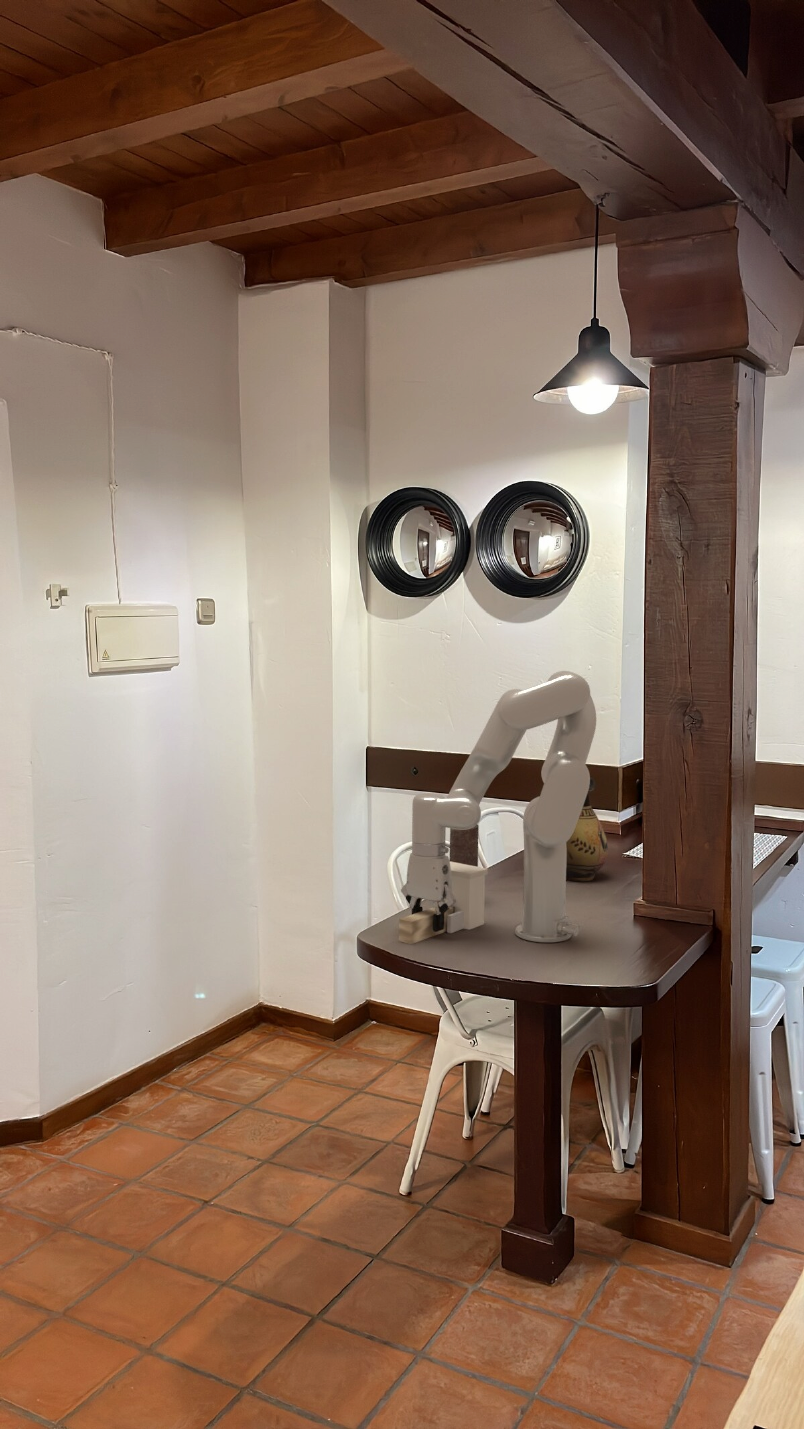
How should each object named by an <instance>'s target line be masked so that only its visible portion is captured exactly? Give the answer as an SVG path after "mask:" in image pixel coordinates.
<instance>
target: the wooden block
mask: <svg viewBox="0 0 804 1429" xmlns="http://www.w3.org/2000/svg"><path fill="white" fill-rule="evenodd" d="M439 906H440V905H439ZM453 913H455V907H453V906H451V907H450V908H449V909H448V910H447V912H445V913H444V929H443V930H440V931H438V932H434V931H433V915H434V914H436V913H435V909H434V906H433V907H431V908H428V909H425V910H424V909H423V911H421V912H419V913H416V914H413V915H412V914H410V915H406V916H404V917H401V918H399V919H398V942H401V943H404V944H409V945H413V944H415V943H418V942H421V941H424V940H426V939H429V938H432V937H435V936H438V935H441V934H443V933H445V932H447V915H450V914H453Z"/></svg>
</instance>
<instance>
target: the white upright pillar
mask: <svg viewBox="0 0 804 1429" xmlns="http://www.w3.org/2000/svg"><path fill="white" fill-rule="evenodd" d="M450 868H451V878H452V894H453V895H454V897H455V899H456V903H454V904H453V905H452V906H453V907H455V913H453V914H450V915H447V931H446V932H447V933H448V934H453V933H455V932H458V931H460V930H473V929H475V928H478V927H480V926H483V925H484V924H485V892H486V889H485V887H486V884H485V882H486V875H489V868H487V867H480V866H478V867H476V866H471V865H466V864H461V863H455V862H450ZM444 900H445V903H446V901H447V899H445V898H444ZM439 905H440V903H439Z"/></svg>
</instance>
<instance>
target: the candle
mask: <svg viewBox="0 0 804 1429" xmlns="http://www.w3.org/2000/svg"><path fill="white" fill-rule="evenodd" d="M479 828H480V826H479V824H477V825H476V826H474V827H473V828H471V829H467V830H460V829H453V828H449V833H450V834H449V862H455V863H461V864H466V865H471V866H476V867H479Z"/></svg>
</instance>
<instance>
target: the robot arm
mask: <svg viewBox="0 0 804 1429" xmlns="http://www.w3.org/2000/svg"><path fill="white" fill-rule="evenodd" d="M554 721H557V724H556V727H555V731H554V735H553V738H552V741H551V744H550V746H549V750H548V752H547V755H546V757H545V760H544V762H543V765H542V766H541V773H540V774H541V779H542V782H543V786H542V789H541V791H540V796H539V795H538V796H537V797H535V798H533V799H531V800H530V801H529V803H528V804H527V805H526V807H525V809H524V812H523V819H522V828H523V881H522V882H523V883H522V884H523V887H522V888H523V892H522V923H521V924H519V925H517V926H516V927H515V932H514V933H515V935H516V936H517V937H519V938H520V939H523V940H527V941H528V942H529V941H530V942H537V943H558V942H565V941H567V940H570V939H571V937H572V936H575V937H576V936H578V934H579V930H580V927H579V924H575V923H571V922H570V916H569V915H568V916H567V915H566V889H567V888H566V886H567V884H566V883H567V881H566V880H567V879H566V861H567V851H566V842H567V841H568V840H569V839H570V837H571V836H572V834H573V832H574V830H575V827H576V824H577V822H578V819H579V816H580V813H581V810H582V807H583V805H584V802H585V799H586V796H587V793H588V789H589V784H590V779H591V777H590V776H591V775H590V770H589V769H588V767H587V765H586V764H587V760H588V757H589V754H590V750H591V746H592V743H593V741H594V737H595V733H596V729H597V728H596V727H597V712H596V706H595V703H594V701H593V697H592V696H591V688H590V684H589V683H588V682H587V680H586V679H585V678H584V677H583V676H582V675H579V674H577V673H574V672H573V671H569V670H559V671H557V672H555V673H553V674H551V675H550V676H549V678H548V680H546V682H543V683H540V684H538V685H534V686H532V687H529V688H526V689H518V688H515V689H513V688H512V689H510V690H507V691H505V692H504V693H503V694H502V695H501V696H500V698H499V699H498V702H497V704H495V707H494V709H493V711H492V713H491V715H490V716H489V718H488V720H487V723H486V724H485V726H484V729H483V731H482V733H481V734H480V736H479V738H478V739H477V741H476V743H475V746H474V747H473V749H472V751H471V752H470V754H469V756H468V758H467V759H466V761H465V763H464V765H463V767H462V768H461V769H460V772H459V774H458V775H457V777H456V779H455V781H454V783H453V785H452V787H451V788H450V791H449V793H448V795H447V797H446V798H445V797H444V796H443V795H441V794H439V793H438V794H437V793H420V794H416V795H415V796H414V797H413V798H412V812H411V813H412V814H411V815H412V817H411V818H412V819H411V820H412V826H411V828H412V830H411V834H412V835H411V853H410V854H409V859H408V863H407V870H406V883H405V884H404V885H403V886H402V887H401V889H400V892H401V893H402V895H403V896H404V898H405V900H406V901H407V903H408V907H409V909H411V915H413V914H416V913H419V912H421V911H424V909H423V906H421V904H422V901H423V900H425V901H429V902H430V901H431V902H432V905H433V907H434V909H435V913H436V914H434V915H433V931H434V932H438V931H440V930H443V929H444V913H445V912H447V910H448V909H449V908H450V907H451V906H452V905H453V904H454V903H456V899H455V897H454V895H453V894H452V878H451V868H450V862H449V860H450V857H449V856H448V855H446V854H448V853H449V852H450V847H448V846H446V835H447V834H446V830H447V829H448V828H449V829H450V828H453V829H460V830H467V829H471V828H473V827H474V826H476V825H477V824H478V823H479V822H480V821H481V816H482V811H481V810H482V808H481V807H480V804H481V802H482V800H483V798H484V796H485V794H486V792H487V791H488V789H489V787H490V785H491V783H492V782H493V781H494V779H495V778H496V777H497V775H498V774H500V773H501V772H502V771H504V770H505V769H506V768H507V767H508V766H509V764H510V763H511V761H512V759H513V757H514V755H515V752H516V750H517V748H518V747H519V744H520V743H521V741H522V738H523V737H524V735H525V734H526V732H527V730H531V729H534V728H538V727H541V726H543V725H546V724H548V723H551V722H554ZM588 770H589V771H588ZM478 825H479V824H478ZM446 828H447V829H446ZM444 898H445V899H447V901H446V903H445V900H444ZM439 903H440V906H439Z"/></svg>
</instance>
